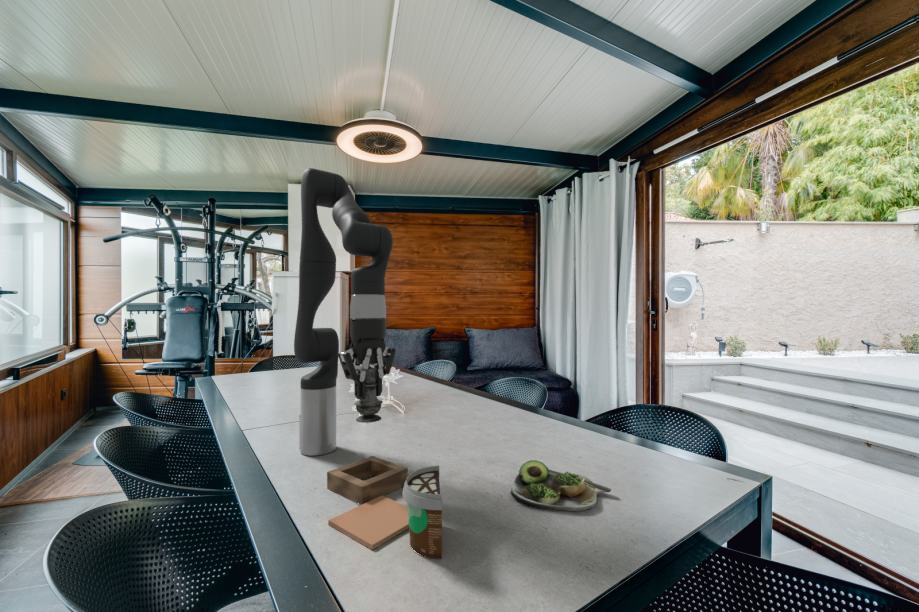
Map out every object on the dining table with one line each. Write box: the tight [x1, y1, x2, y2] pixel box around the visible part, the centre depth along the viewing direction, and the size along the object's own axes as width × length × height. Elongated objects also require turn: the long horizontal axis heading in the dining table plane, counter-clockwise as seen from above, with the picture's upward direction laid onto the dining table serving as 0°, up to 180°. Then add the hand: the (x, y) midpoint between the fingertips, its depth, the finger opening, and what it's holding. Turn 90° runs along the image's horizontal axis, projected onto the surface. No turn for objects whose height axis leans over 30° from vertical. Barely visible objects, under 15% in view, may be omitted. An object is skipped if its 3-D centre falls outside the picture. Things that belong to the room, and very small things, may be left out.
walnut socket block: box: [326, 455, 409, 506], centre depth 84 cm, size 12×12×4 cm
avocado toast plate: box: [510, 459, 612, 512], centre depth 81 cm, size 19×18×5 cm
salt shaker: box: [354, 364, 383, 424], centre depth 84 cm, size 6×6×12 cm
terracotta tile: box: [328, 495, 409, 550], centre depth 70 cm, size 12×12×1 cm
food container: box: [402, 465, 443, 560], centre depth 64 cm, size 12×6×10 cm, turn 5°
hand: (368, 396), depth 84 cm, fingers closed on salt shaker, 3 cm apart
